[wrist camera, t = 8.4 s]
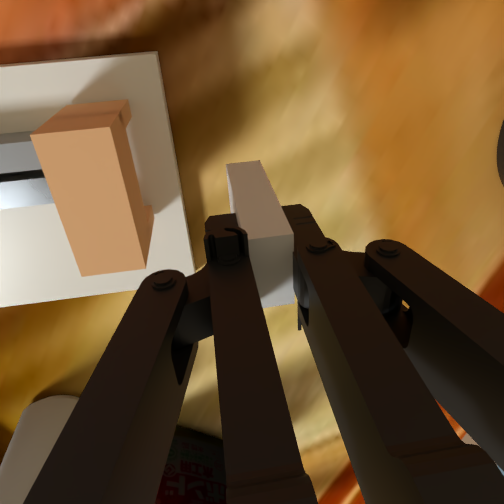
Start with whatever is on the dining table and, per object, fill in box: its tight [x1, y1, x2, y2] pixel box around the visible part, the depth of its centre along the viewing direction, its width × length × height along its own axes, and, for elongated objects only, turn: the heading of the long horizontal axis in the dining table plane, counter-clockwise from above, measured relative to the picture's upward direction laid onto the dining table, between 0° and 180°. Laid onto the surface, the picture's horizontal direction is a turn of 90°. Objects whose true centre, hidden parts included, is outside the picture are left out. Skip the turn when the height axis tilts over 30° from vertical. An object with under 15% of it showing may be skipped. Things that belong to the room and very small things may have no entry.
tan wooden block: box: [30, 99, 155, 277], centre depth 22 cm, size 4×8×6 cm, turn 4°
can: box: [0, 395, 79, 504], centre depth 34 cm, size 8×8×12 cm
